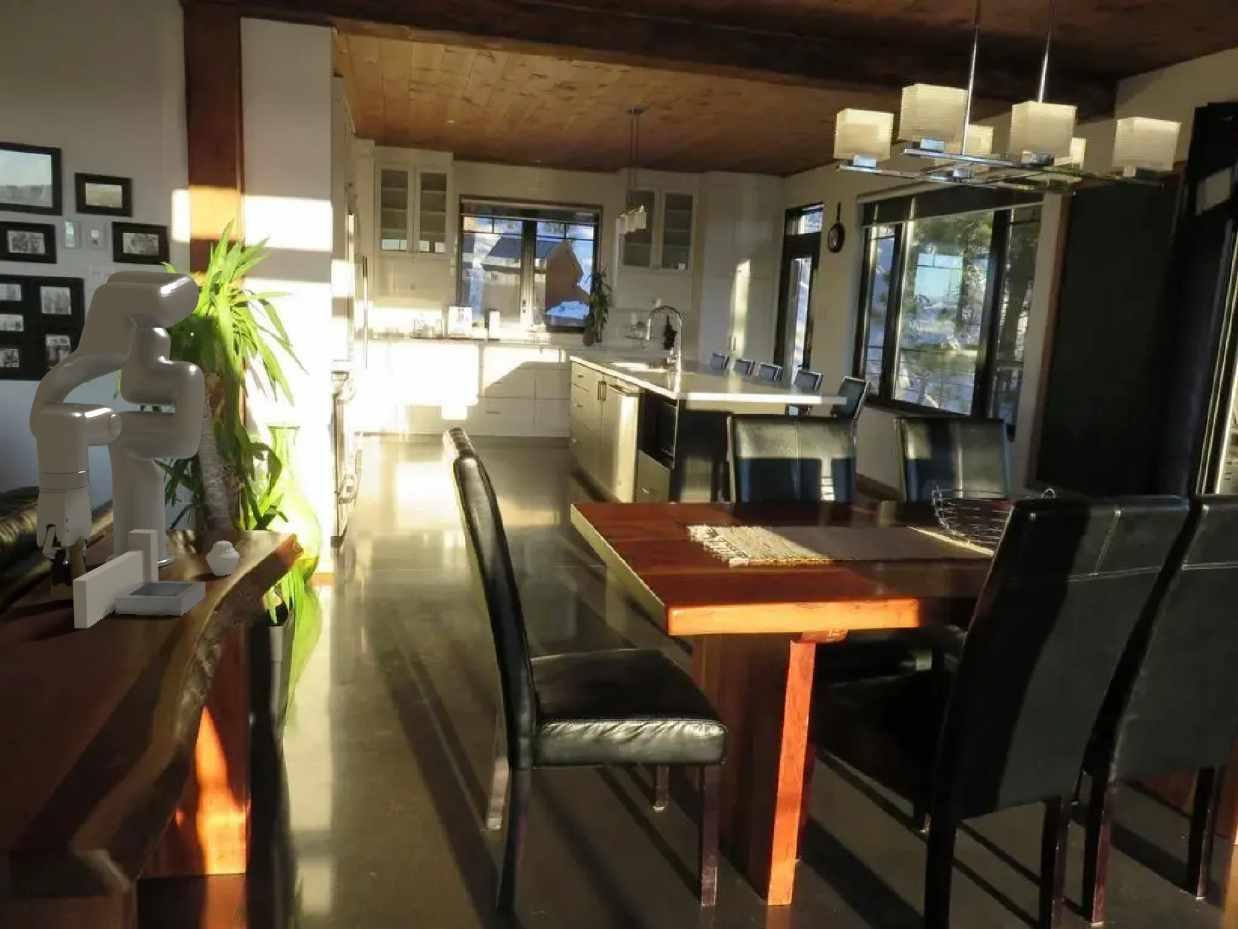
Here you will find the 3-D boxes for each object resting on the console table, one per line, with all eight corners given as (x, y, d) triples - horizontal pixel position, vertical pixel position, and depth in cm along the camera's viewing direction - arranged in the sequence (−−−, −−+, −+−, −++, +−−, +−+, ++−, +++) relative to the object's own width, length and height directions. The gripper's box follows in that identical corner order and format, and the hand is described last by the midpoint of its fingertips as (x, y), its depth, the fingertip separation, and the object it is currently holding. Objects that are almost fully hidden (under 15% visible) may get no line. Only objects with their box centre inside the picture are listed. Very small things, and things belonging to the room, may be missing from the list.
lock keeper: (143, 596, 166) (143, 580, 166) (205, 597, 167) (205, 581, 167) (115, 614, 155) (114, 597, 155) (181, 615, 156) (181, 599, 156)
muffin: (241, 569, 187) (241, 536, 186) (237, 577, 181) (237, 543, 180) (208, 570, 185) (208, 537, 184) (203, 578, 179) (203, 544, 178)
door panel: (136, 585, 172) (135, 529, 171) (158, 586, 172) (157, 529, 171) (68, 627, 147) (65, 562, 146) (93, 628, 148) (91, 562, 146)
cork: (71, 600, 157) (68, 538, 155) (41, 596, 158) (38, 535, 156) (98, 590, 163) (95, 530, 161) (69, 586, 164) (66, 527, 162)
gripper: (66, 471, 165) (71, 568, 168) (13, 489, 148) (20, 596, 151) (109, 472, 165) (114, 569, 168) (61, 490, 149) (67, 597, 152)
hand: (69, 580), depth 160 cm, fingers closed on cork, 3 cm apart
